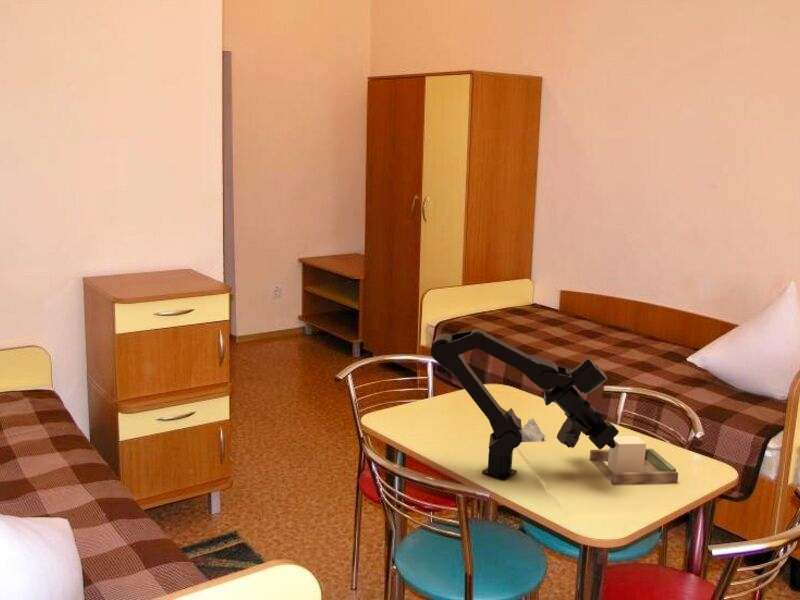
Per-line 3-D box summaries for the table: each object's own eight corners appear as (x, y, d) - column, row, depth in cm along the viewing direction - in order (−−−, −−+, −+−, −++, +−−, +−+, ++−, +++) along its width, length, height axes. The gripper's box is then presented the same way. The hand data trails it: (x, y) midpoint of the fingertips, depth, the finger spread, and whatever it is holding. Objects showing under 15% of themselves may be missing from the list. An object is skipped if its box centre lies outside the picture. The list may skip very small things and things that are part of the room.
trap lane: (612, 490, 184) (614, 472, 183) (589, 464, 199) (590, 448, 198) (676, 488, 186) (678, 471, 185) (648, 463, 201) (650, 446, 200)
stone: (550, 434, 220) (551, 420, 220) (540, 447, 209) (541, 432, 209) (527, 430, 223) (528, 416, 222) (516, 443, 212) (517, 428, 211)
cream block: (615, 475, 189) (618, 444, 187) (607, 467, 194) (610, 436, 192) (643, 474, 190) (646, 443, 188) (634, 466, 195) (637, 436, 193)
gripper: (536, 414, 195) (576, 454, 199) (561, 441, 177) (604, 485, 181) (569, 383, 195) (608, 424, 198) (597, 408, 177) (639, 453, 180)
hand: (613, 446), depth 189 cm, fingers closed
